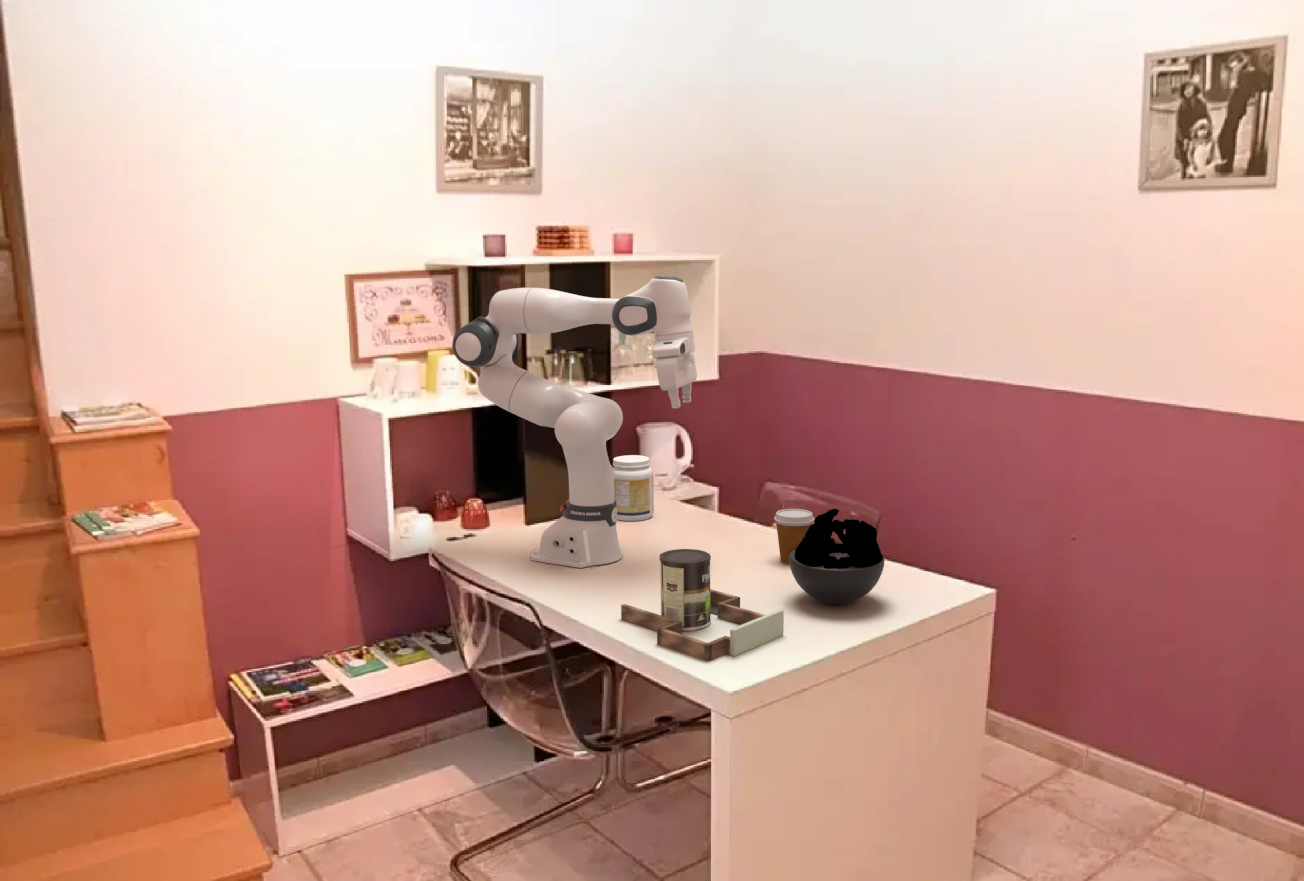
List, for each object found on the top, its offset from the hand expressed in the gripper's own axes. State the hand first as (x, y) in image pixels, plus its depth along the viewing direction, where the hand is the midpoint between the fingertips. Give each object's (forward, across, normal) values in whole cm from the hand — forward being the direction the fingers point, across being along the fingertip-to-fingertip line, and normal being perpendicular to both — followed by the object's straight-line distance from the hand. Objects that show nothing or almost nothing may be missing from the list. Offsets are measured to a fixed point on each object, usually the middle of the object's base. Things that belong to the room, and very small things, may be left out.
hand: (681, 405), depth 245 cm
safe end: (+42, +46, +23) cm, 66 cm away
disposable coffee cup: (+41, -10, +21) cm, 47 cm away
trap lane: (+40, +39, +10) cm, 57 cm away
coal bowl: (+43, +17, +34) cm, 57 cm away
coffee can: (+40, +38, +6) cm, 55 cm away
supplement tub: (+36, -42, -30) cm, 63 cm away
